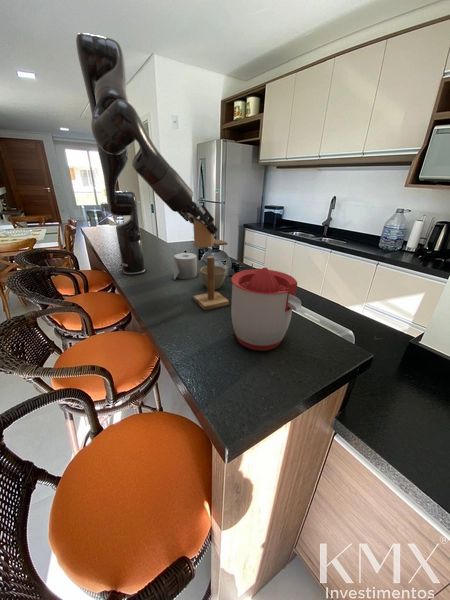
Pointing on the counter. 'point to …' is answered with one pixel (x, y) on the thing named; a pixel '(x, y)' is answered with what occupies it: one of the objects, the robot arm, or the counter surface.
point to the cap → (204, 236)
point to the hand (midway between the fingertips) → (208, 230)
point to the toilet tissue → (185, 266)
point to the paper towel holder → (211, 290)
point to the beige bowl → (219, 275)
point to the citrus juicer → (262, 307)
